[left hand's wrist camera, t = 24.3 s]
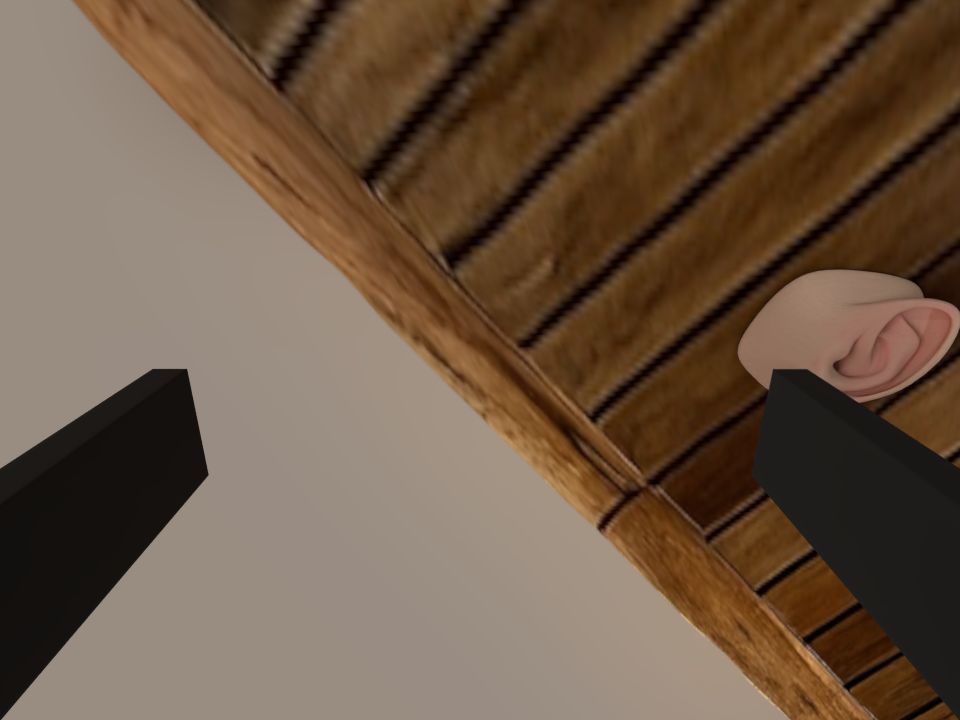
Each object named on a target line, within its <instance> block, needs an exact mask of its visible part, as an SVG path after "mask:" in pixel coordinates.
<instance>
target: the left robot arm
mask: <svg viewBox="0 0 960 720" xmlns="http://www.w3.org/2000/svg"><path fill="white" fill-rule="evenodd" d="M207 476H208V470H207V465H206V460H205V455H204V450H203V445H202V440H201V435H200V430H199V425H198V420H197V416H196V411H195V406H194V401H193V396H192V391H191V386H190V381H189V376H188V371H187V369H152V370H151V371H149V372H148V373H146V374H144V375H143V376H141V377H140V378H138V379H137V380H135V381H134V382H132V383H131V384H129V385H128V386H126V387H125V388H123V389H122V390H120V391H118V392H117V393H115V394H114V395H112V396H111V397H109V398H108V399H106V400H105V401H103V402H102V403H100V404H99V405H97V406H95V407H94V408H92V409H91V410H89V411H88V412H86V413H85V414H83V415H82V416H80V417H79V418H77V419H76V420H74V421H73V422H71V423H70V424H68V425H66V426H65V427H63V428H62V429H60V430H59V431H57V432H56V433H54V434H53V435H51V436H50V437H48V438H47V439H45V440H43V441H42V442H40V443H39V444H37V445H36V446H34V447H33V448H31V449H30V450H28V451H27V452H25V453H24V454H22V455H21V456H19V457H17V458H16V459H14V460H13V461H11V462H10V463H8V464H7V465H5V466H4V467H2V468H1V469H0V720H1V719H2V718H3V717H4V716H5V714H6V713H7V712H8V711H9V710H10V709H11V707H12V706H13V705H14V704H15V703H16V702H17V700H18V699H19V698H20V697H21V696H22V694H23V693H24V692H25V691H26V690H27V688H28V687H29V686H30V685H31V684H32V683H33V681H34V680H35V679H36V678H37V677H38V675H39V674H40V673H41V672H42V671H43V670H44V668H45V667H46V666H47V665H48V664H49V663H50V661H51V660H52V659H53V658H54V657H55V656H56V654H57V653H58V652H59V651H60V650H61V648H62V647H63V646H64V645H65V644H66V643H67V641H68V640H69V639H70V638H71V637H72V636H73V634H74V633H75V632H76V631H77V630H78V628H79V627H80V626H81V625H82V624H83V623H84V621H85V620H86V619H87V618H88V617H89V615H90V614H91V613H92V612H93V611H94V610H95V608H96V607H97V606H98V605H99V604H100V602H101V601H102V600H103V599H104V598H105V597H106V595H107V594H108V593H109V592H110V591H111V590H112V588H113V587H114V586H115V585H116V584H117V582H118V581H119V580H120V579H121V578H122V577H123V575H124V574H125V573H126V572H127V571H128V569H129V568H130V567H131V566H132V565H133V564H134V562H135V561H136V560H137V559H138V558H139V556H140V555H141V554H142V553H143V552H144V551H145V549H146V548H147V547H148V546H149V545H150V544H151V542H152V541H153V540H154V539H155V538H156V536H157V535H158V534H159V533H160V532H161V531H162V529H163V528H164V527H165V526H166V525H167V524H168V522H169V521H170V520H171V519H172V518H173V516H174V515H175V514H176V513H177V512H178V511H179V509H180V508H181V507H182V506H183V505H184V503H185V502H186V501H187V500H188V499H189V498H190V496H191V495H192V494H193V493H194V492H195V490H196V489H197V488H198V487H199V486H200V485H201V483H202V482H203V481H204V480H205V479H206V477H207ZM752 476H753V478H754V479H755V480H756V481H757V482H758V483H759V485H760V486H761V487H762V488H763V489H764V491H765V492H766V493H767V494H768V495H769V496H770V498H771V499H772V500H773V501H774V502H775V504H776V505H777V506H778V507H779V508H780V509H781V511H782V512H783V513H784V514H785V515H786V516H787V518H788V519H789V520H790V521H791V522H792V524H793V525H794V526H795V527H796V528H797V529H798V531H799V532H800V533H801V534H802V535H803V537H804V538H805V539H806V540H807V541H808V542H809V544H810V545H811V546H812V547H813V548H814V549H815V551H816V552H817V553H818V554H819V555H820V557H821V558H822V559H823V560H824V561H825V562H826V564H827V565H828V566H829V567H830V568H831V570H832V571H833V572H834V573H835V574H836V575H837V577H838V578H839V579H840V580H841V581H842V582H843V584H844V585H845V586H846V587H847V588H848V590H849V591H850V592H851V593H852V594H853V595H854V597H855V598H856V599H857V600H858V601H859V603H860V604H861V605H862V606H863V607H864V608H865V610H866V611H867V612H868V613H869V614H870V615H871V617H872V618H873V619H874V620H875V621H876V623H877V624H878V625H879V626H880V627H881V628H882V630H883V631H884V632H885V633H886V634H887V636H888V637H889V638H890V639H891V640H892V641H893V643H894V644H895V645H896V646H897V647H898V648H899V650H900V651H901V652H902V653H903V654H904V656H905V657H906V658H907V659H908V660H909V661H910V663H911V664H912V665H913V666H914V667H915V669H916V670H917V671H918V672H919V673H920V674H921V676H922V677H923V678H924V679H925V680H926V681H927V683H928V684H929V685H930V686H931V687H932V689H933V690H934V691H935V692H936V693H937V694H938V696H939V697H940V698H941V699H942V700H943V702H944V703H945V704H946V705H947V706H948V707H949V709H950V710H951V711H952V712H953V713H954V714H955V716H956V717H957V718H958V719H959V720H960V469H959V468H958V467H956V466H955V465H953V464H952V463H950V462H949V461H947V460H946V459H944V458H943V457H941V456H939V455H938V454H936V453H935V452H933V451H932V450H930V449H929V448H927V447H926V446H924V445H923V444H921V443H920V442H918V441H917V440H915V439H913V438H912V437H910V436H909V435H907V434H906V433H904V432H903V431H901V430H900V429H898V428H897V427H895V426H894V425H892V424H891V423H889V422H887V421H886V420H884V419H883V418H881V417H880V416H878V415H877V414H875V413H874V412H872V411H871V410H869V409H868V408H866V407H865V406H863V405H861V404H860V403H858V402H857V401H855V400H854V399H852V398H851V397H849V396H848V395H846V394H845V393H843V392H842V391H840V390H838V389H837V388H835V387H834V386H832V385H831V384H829V383H828V382H826V381H825V380H823V379H822V378H820V377H819V376H817V375H816V374H814V373H812V372H811V371H809V370H808V369H773V371H772V376H771V381H770V386H769V391H768V396H767V401H766V406H765V411H764V416H763V420H762V425H761V430H760V435H759V440H758V445H757V450H756V455H755V460H754V465H753V470H752Z"/></svg>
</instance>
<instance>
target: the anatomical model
mask: <svg viewBox="0 0 960 720" xmlns="http://www.w3.org/2000/svg"><path fill="white" fill-rule="evenodd" d="M959 328H960V312H959V310H958V309H957V308H956V307H955V306H954V305H952V304H950V303H948V302H945V301H941V300H937V299H930V298H924V297H923V293H922V291H921V289H920V288H919V287H918V286H917V285H916V284H915V283H913V282H911V281H909V280H906V279H903V278H900V277H896V276H892V275H887V274H881V273H875V272H867V271H856V270H823V271H816V272H812V273H808V274H806V275H803V276H801V277H799V278H797V279H795V280H794V281H792V282H791V283H789V284H788V285H786V286H785V287H784V288H783V289H781V290H780V291H779V292H778V293H777V294H776V295H775V296H774V297H773V298H772V299H771V300H770V301H769V302H768V303H767V304H766V305H765V306H764V308H763V309H762V310H761V311H760V312H759V313H758V315H757V316H756V317H755V319H754V320H753V321H752V323H751V324H750V325H749V327H748V329H747V330H746V332H745V333H744V335H743V337H742V339H741V341H740V343H739V346H738V357H739V359H740V361H741V363H742V364H743V366H744V367H745V368H746V370H747V371H748V372H749V373H750V374H751V375H752V376H753V377H754V378H755V379H756V380H757V381H758V382H759V383H760V384H762V385H763V386H764V387H765V388H767V389H768V390H769V386H770V381H771V376H772V371H773V369H808V370H809V371H811V372H812V373H814V374H816V375H817V376H819V377H820V378H822V379H823V380H825V381H826V382H828V383H829V384H831V385H832V386H834V387H835V388H837V389H838V390H840V391H842V392H843V393H845V394H846V395H848V396H849V397H851V398H852V399H854V400H855V401H857V402H858V403H861V402H865V401H869V400H873V399H877V398H881V397H884V396H887V395H890V394H892V393H895V392H897V391H899V390H901V389H903V388H905V387H907V386H908V385H910V384H912V383H913V382H914V381H916V380H917V379H919V378H920V377H922V376H923V375H924V374H925V373H927V372H928V371H929V370H930V369H931V368H932V367H933V366H935V365H936V364H937V363H938V362H939V360H940V359H941V358H942V357H943V356H944V355H945V353H946V352H947V351H948V349H949V348H950V346H951V345H952V343H953V341H954V339H955V338H956V336H957V333H958V331H959Z"/></svg>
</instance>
